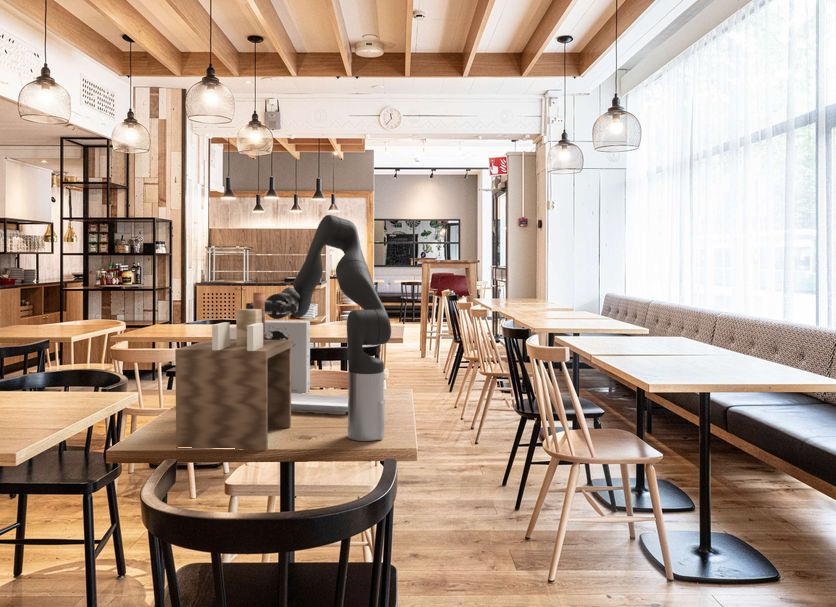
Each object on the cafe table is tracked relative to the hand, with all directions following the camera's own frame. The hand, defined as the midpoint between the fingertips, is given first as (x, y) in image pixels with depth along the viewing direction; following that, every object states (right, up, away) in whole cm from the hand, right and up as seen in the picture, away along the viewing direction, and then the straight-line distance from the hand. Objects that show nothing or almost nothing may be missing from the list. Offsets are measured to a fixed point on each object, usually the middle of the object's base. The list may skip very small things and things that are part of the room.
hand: (265, 309), depth 182 cm
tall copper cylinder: (-1, -9, -10) cm, 14 cm away
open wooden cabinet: (-4, -33, -13) cm, 36 cm away
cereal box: (-7, -30, +48) cm, 57 cm away
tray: (+9, -32, +22) cm, 39 cm away
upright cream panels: (-1, -9, -23) cm, 25 cm away
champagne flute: (-17, -30, +34) cm, 49 cm away
